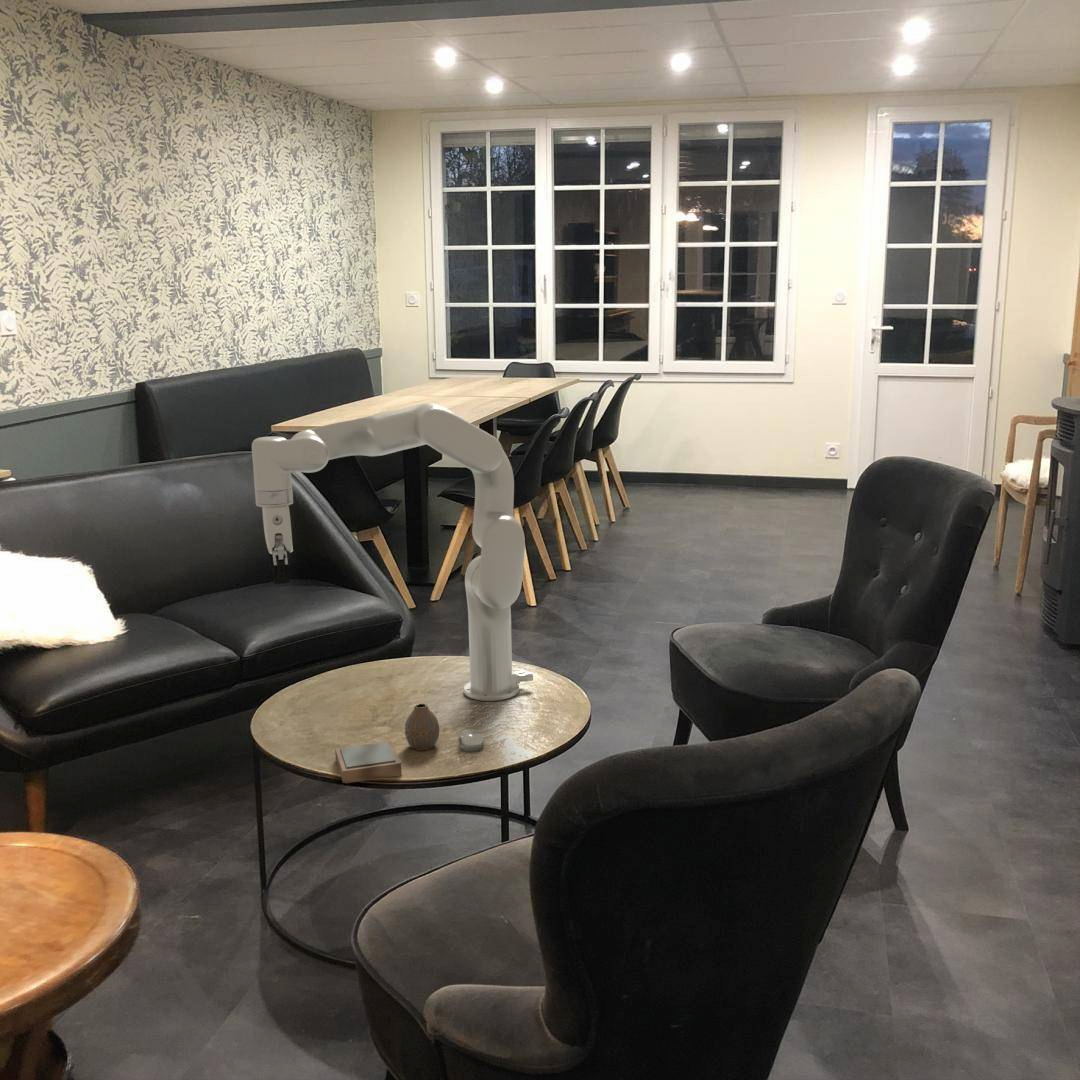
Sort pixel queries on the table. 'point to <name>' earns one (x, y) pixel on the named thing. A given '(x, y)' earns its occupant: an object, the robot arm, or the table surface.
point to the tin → (470, 741)
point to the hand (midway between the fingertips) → (280, 577)
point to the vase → (421, 728)
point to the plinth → (367, 762)
